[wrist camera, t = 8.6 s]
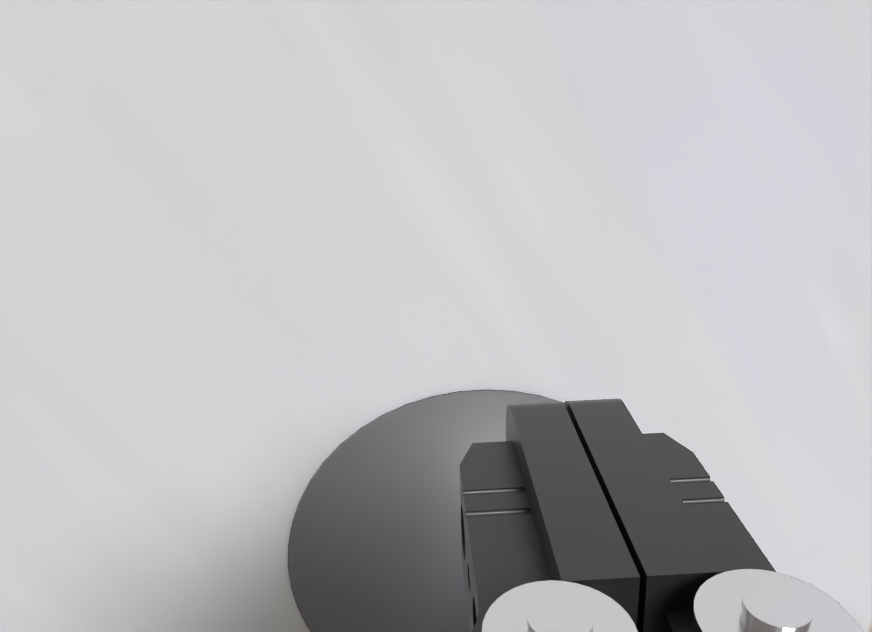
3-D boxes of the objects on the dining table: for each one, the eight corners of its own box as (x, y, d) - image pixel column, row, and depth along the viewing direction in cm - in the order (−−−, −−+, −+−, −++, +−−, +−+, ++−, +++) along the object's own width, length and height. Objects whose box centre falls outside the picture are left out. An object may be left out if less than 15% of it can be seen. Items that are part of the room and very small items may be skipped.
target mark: (441, 755, 32) (442, 760, 32) (207, 534, 27) (206, 538, 27) (736, 584, 29) (739, 588, 29) (528, 311, 25) (529, 313, 25)
